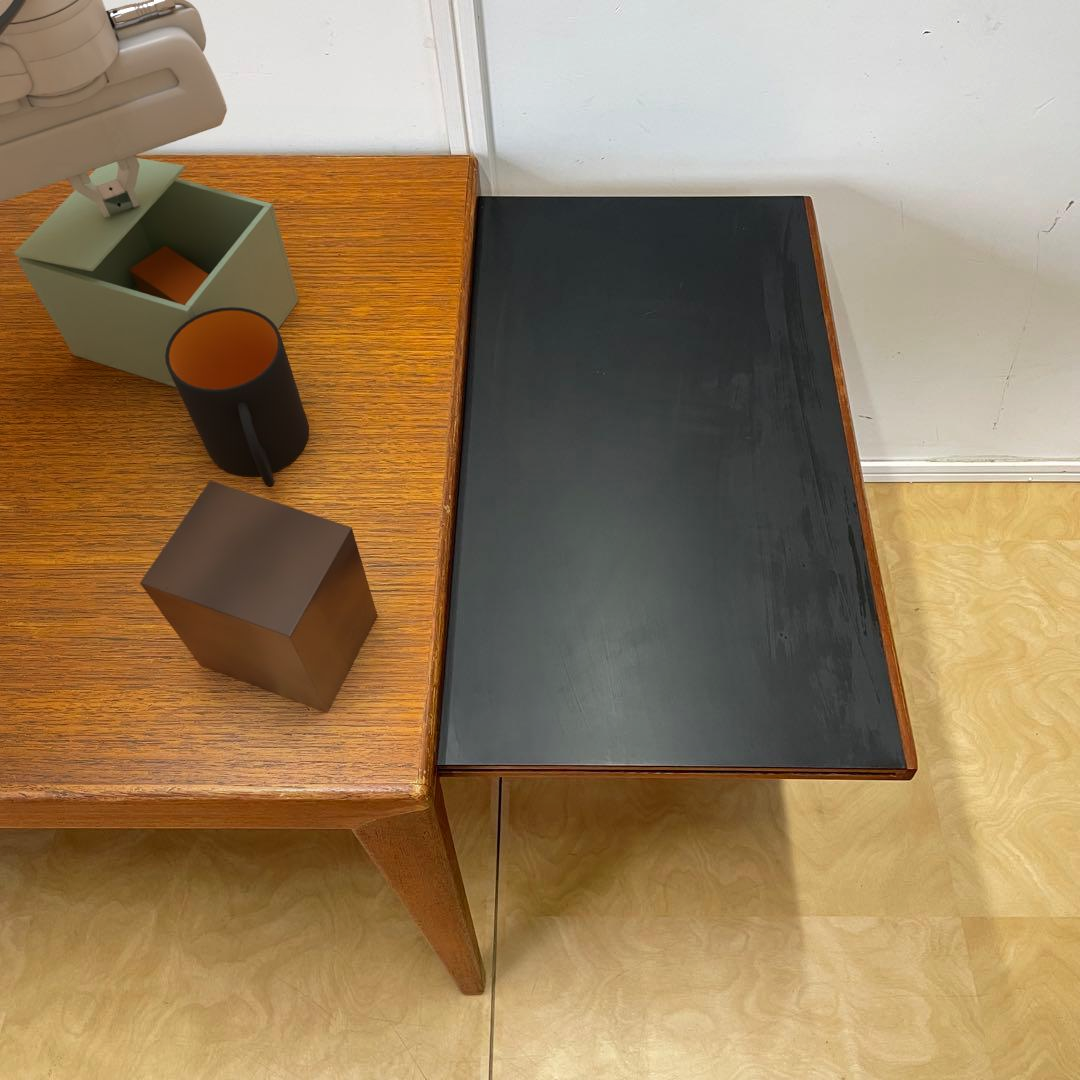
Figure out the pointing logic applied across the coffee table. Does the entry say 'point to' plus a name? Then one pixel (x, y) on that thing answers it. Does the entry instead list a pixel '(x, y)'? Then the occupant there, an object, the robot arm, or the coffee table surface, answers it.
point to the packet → (168, 276)
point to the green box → (149, 322)
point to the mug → (239, 391)
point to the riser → (265, 594)
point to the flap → (95, 219)
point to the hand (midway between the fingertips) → (119, 208)
